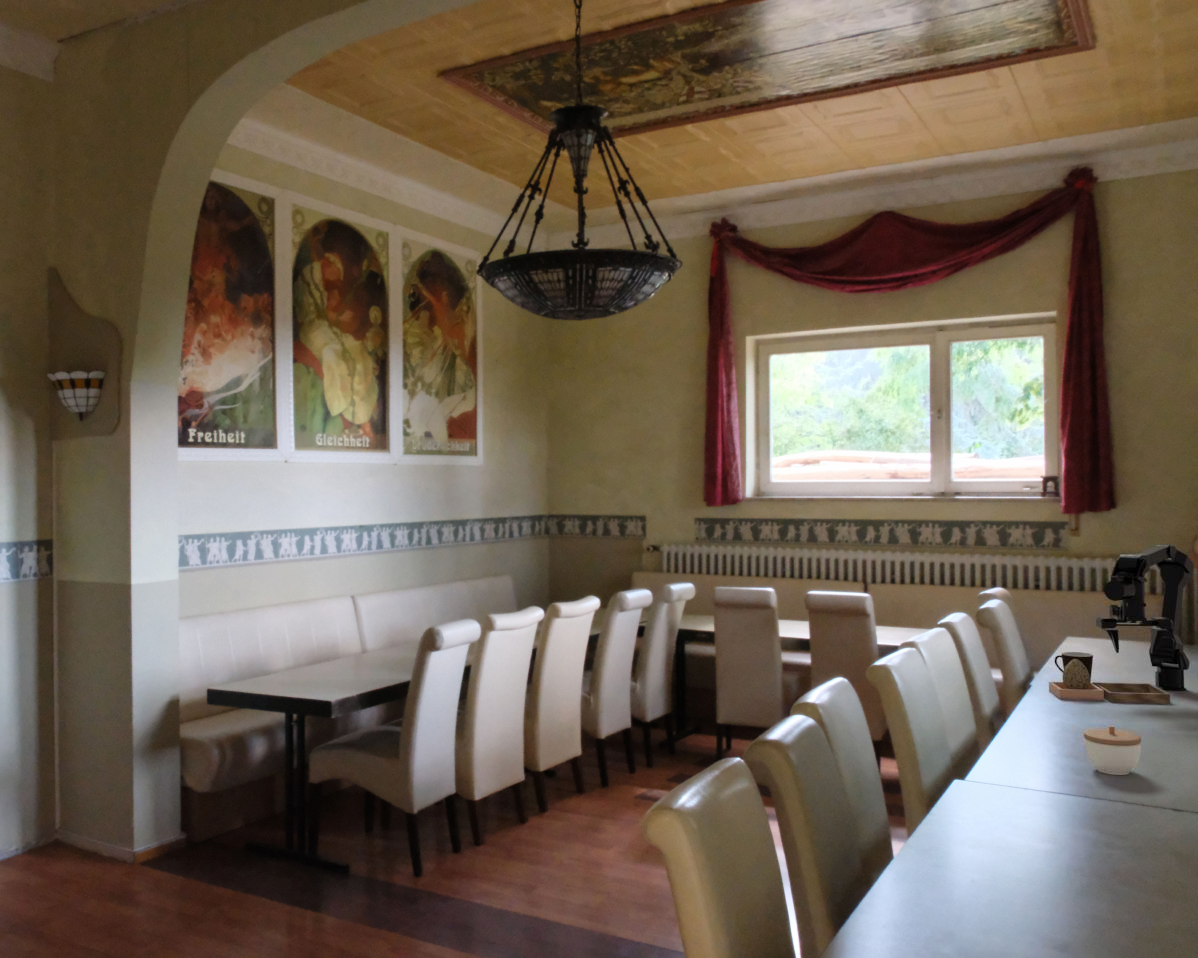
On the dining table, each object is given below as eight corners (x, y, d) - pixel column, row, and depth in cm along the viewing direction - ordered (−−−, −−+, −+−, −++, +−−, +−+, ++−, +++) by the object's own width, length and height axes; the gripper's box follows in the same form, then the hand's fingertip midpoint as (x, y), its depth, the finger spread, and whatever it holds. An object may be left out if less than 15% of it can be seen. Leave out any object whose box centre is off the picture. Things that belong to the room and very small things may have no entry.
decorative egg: (1093, 696, 277) (1092, 661, 277) (1066, 695, 278) (1065, 660, 278) (1086, 691, 283) (1085, 657, 284) (1060, 690, 285) (1059, 656, 285)
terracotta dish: (1091, 691, 285) (1091, 682, 285) (1103, 700, 274) (1103, 690, 274) (1049, 691, 288) (1048, 681, 288) (1059, 699, 276) (1059, 689, 276)
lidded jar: (1140, 781, 198) (1139, 734, 198) (1082, 773, 203) (1080, 728, 204) (1143, 768, 207) (1142, 724, 207) (1087, 761, 213) (1086, 718, 213)
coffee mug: (1099, 690, 288) (1098, 656, 288) (1070, 690, 288) (1069, 656, 288) (1080, 682, 300) (1080, 650, 300) (1052, 682, 300) (1051, 650, 300)
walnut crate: (1150, 691, 284) (1149, 683, 284) (1170, 703, 269) (1170, 694, 269) (1092, 690, 287) (1092, 682, 287) (1109, 701, 272) (1109, 692, 272)
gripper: (1158, 595, 284) (1159, 649, 284) (1089, 595, 288) (1091, 648, 288) (1173, 599, 273) (1174, 655, 273) (1101, 599, 277) (1102, 654, 277)
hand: (1134, 653), depth 278 cm, fingers open, 9 cm apart
